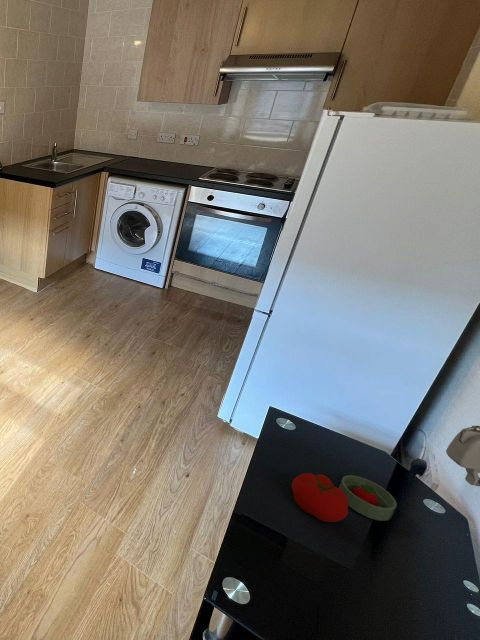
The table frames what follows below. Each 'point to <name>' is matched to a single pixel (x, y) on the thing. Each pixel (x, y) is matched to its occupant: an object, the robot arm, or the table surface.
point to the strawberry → (366, 494)
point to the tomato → (320, 497)
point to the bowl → (364, 508)
